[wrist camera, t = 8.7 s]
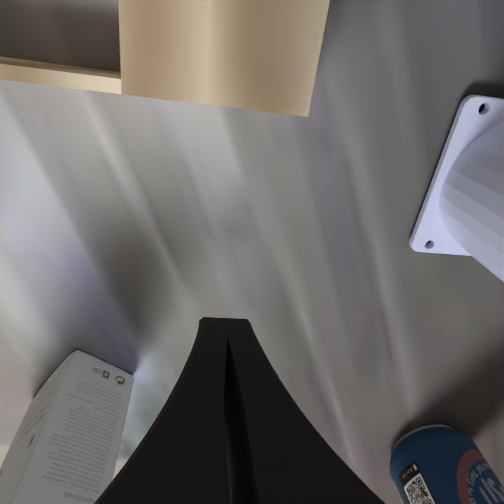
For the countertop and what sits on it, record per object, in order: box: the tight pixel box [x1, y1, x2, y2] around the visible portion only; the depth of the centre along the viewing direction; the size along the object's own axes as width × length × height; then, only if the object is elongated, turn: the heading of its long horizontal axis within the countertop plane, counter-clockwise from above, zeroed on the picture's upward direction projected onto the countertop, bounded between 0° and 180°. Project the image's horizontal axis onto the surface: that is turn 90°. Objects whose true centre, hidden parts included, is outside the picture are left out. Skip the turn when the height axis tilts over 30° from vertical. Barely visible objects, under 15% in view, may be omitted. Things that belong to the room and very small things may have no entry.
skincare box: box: [0, 350, 134, 504], centre depth 19 cm, size 6×4×12 cm
